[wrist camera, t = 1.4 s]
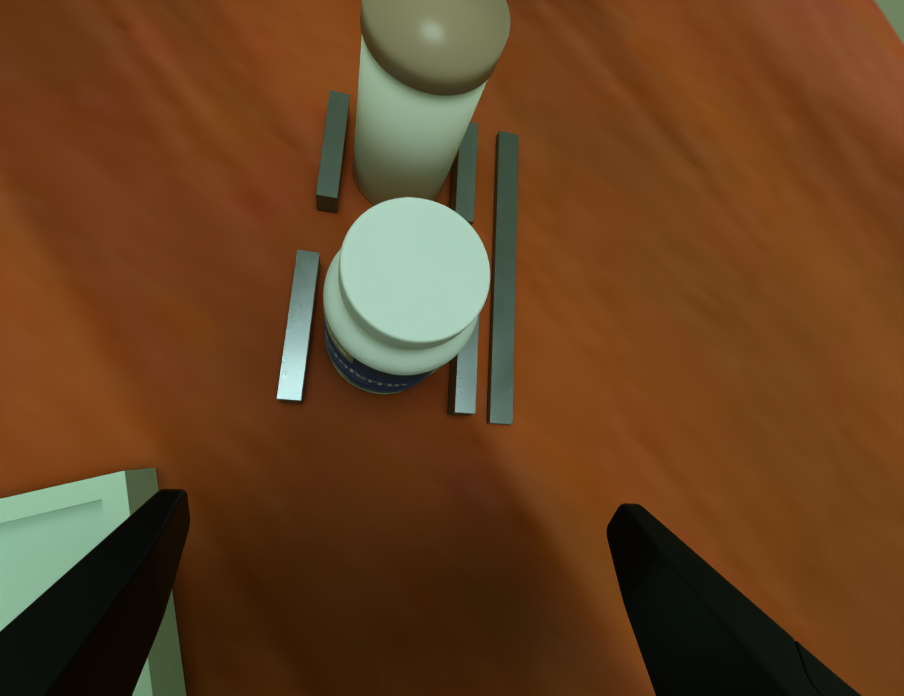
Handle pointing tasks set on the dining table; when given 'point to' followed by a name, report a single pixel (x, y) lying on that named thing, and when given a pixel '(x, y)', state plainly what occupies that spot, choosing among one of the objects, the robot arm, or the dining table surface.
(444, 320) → the pill bottle
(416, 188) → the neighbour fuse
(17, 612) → the tray
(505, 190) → the set of grey bars
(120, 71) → the dining table surface
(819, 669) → the robot arm
